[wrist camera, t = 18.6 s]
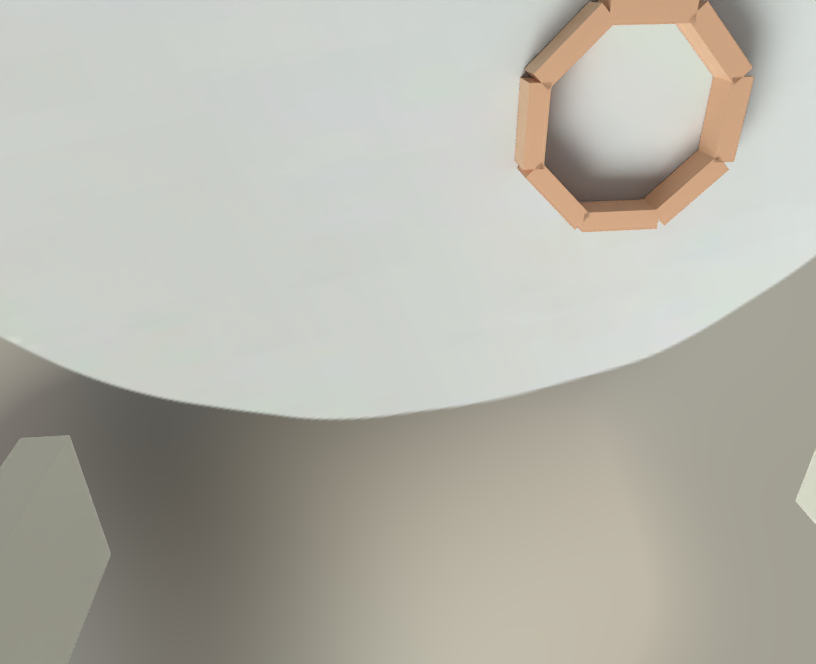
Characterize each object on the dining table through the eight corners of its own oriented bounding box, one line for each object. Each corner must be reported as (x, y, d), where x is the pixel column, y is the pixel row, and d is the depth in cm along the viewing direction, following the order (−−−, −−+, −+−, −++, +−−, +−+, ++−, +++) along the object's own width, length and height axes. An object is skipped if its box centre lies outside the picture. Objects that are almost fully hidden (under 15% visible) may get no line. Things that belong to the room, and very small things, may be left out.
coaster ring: (525, -2, 34) (535, 0, 32) (751, -6, 34) (773, -5, 33) (510, 223, 40) (517, 234, 38) (702, 215, 41) (718, 225, 39)
